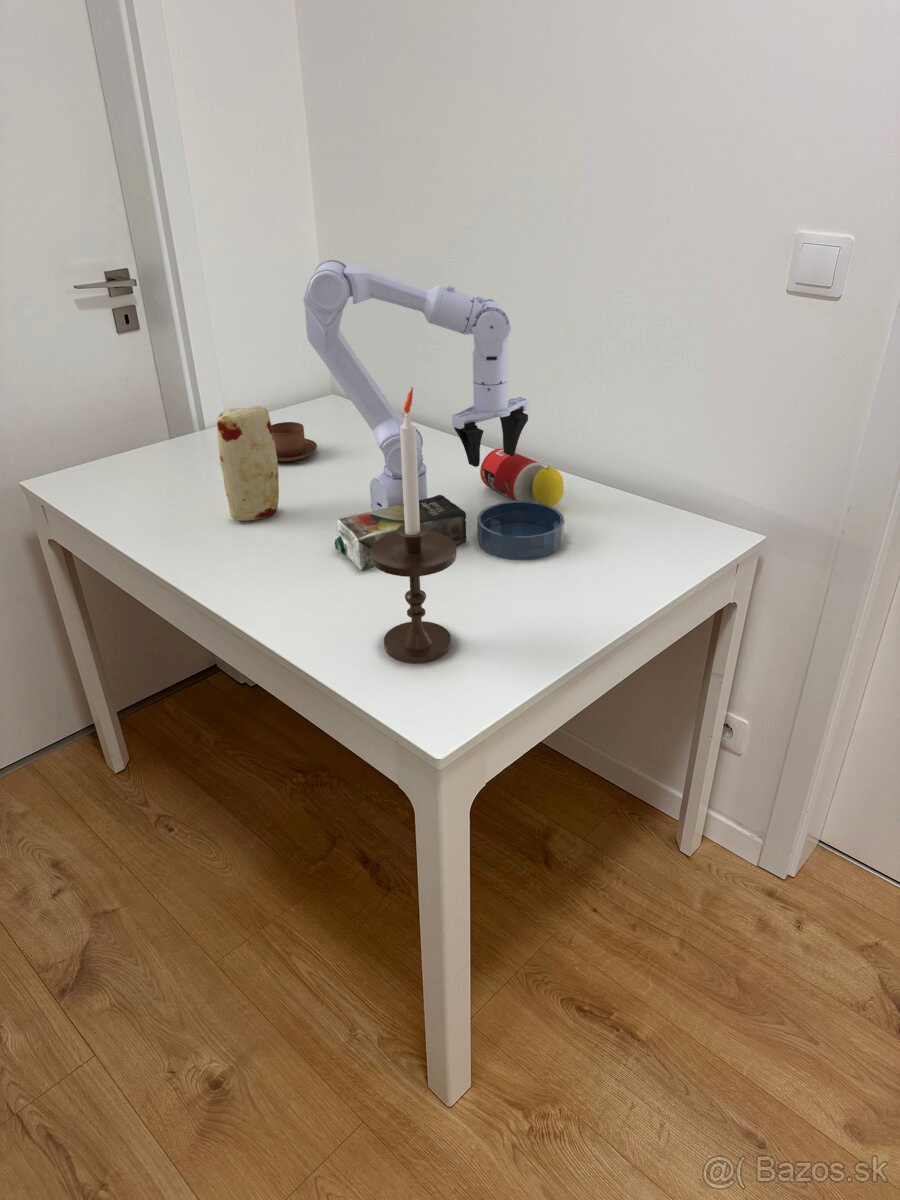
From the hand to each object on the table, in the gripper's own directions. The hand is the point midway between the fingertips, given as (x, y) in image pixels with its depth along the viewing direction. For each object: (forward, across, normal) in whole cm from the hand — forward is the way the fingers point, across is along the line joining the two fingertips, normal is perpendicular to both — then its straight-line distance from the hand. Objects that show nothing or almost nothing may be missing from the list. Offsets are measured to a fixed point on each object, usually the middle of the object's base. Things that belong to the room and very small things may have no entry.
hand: (491, 459), depth 144 cm
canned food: (+7, +9, +10) cm, 15 cm away
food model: (+10, -34, +25) cm, 43 cm away
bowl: (+10, -2, -11) cm, 15 cm away
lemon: (+11, +10, -4) cm, 15 cm away
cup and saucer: (+10, -16, +49) cm, 53 cm away
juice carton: (+10, -20, -1) cm, 22 cm away
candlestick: (+10, -34, -27) cm, 44 cm away
